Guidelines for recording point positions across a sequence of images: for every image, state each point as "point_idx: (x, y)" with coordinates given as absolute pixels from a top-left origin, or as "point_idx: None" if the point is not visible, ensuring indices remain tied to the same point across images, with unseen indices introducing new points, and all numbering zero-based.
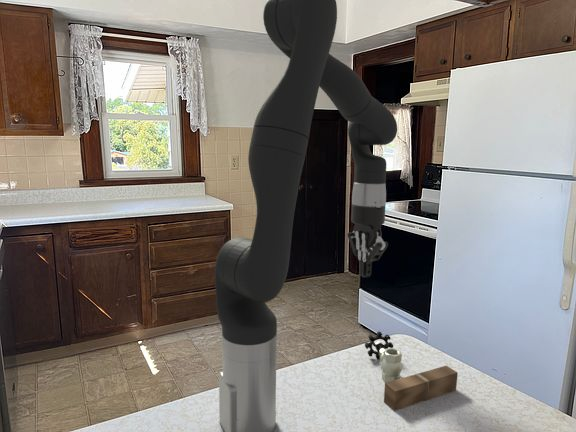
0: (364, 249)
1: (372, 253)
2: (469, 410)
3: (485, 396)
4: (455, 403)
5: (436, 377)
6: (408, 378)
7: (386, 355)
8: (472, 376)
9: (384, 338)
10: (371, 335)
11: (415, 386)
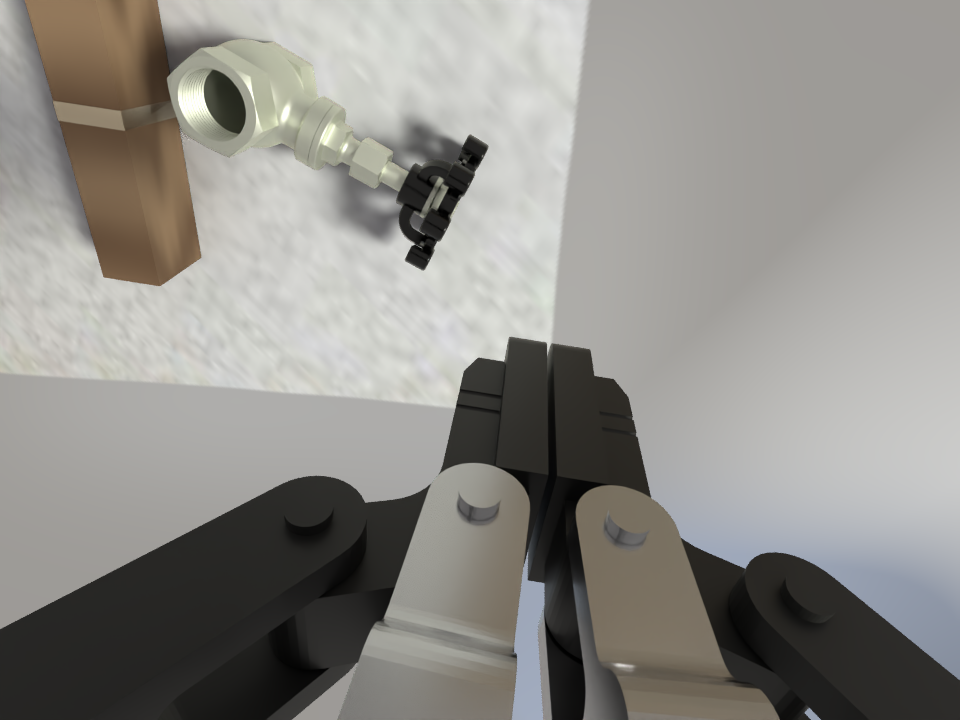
0: (356, 708)
1: (94, 634)
2: (39, 185)
3: (104, 297)
4: None
5: (81, 173)
6: (92, 48)
7: (200, 48)
8: (212, 363)
9: (423, 237)
10: (456, 183)
11: (36, 27)
